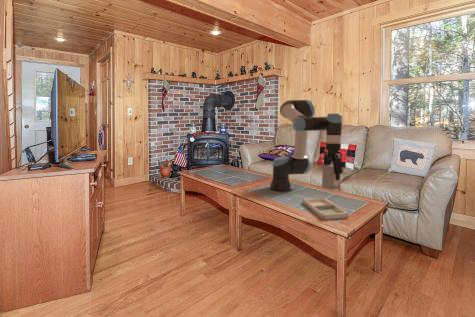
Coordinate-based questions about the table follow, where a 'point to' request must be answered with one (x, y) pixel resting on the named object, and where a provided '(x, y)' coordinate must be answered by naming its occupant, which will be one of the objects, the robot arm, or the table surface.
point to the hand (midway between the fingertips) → (331, 183)
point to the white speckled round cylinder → (329, 177)
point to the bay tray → (325, 208)
